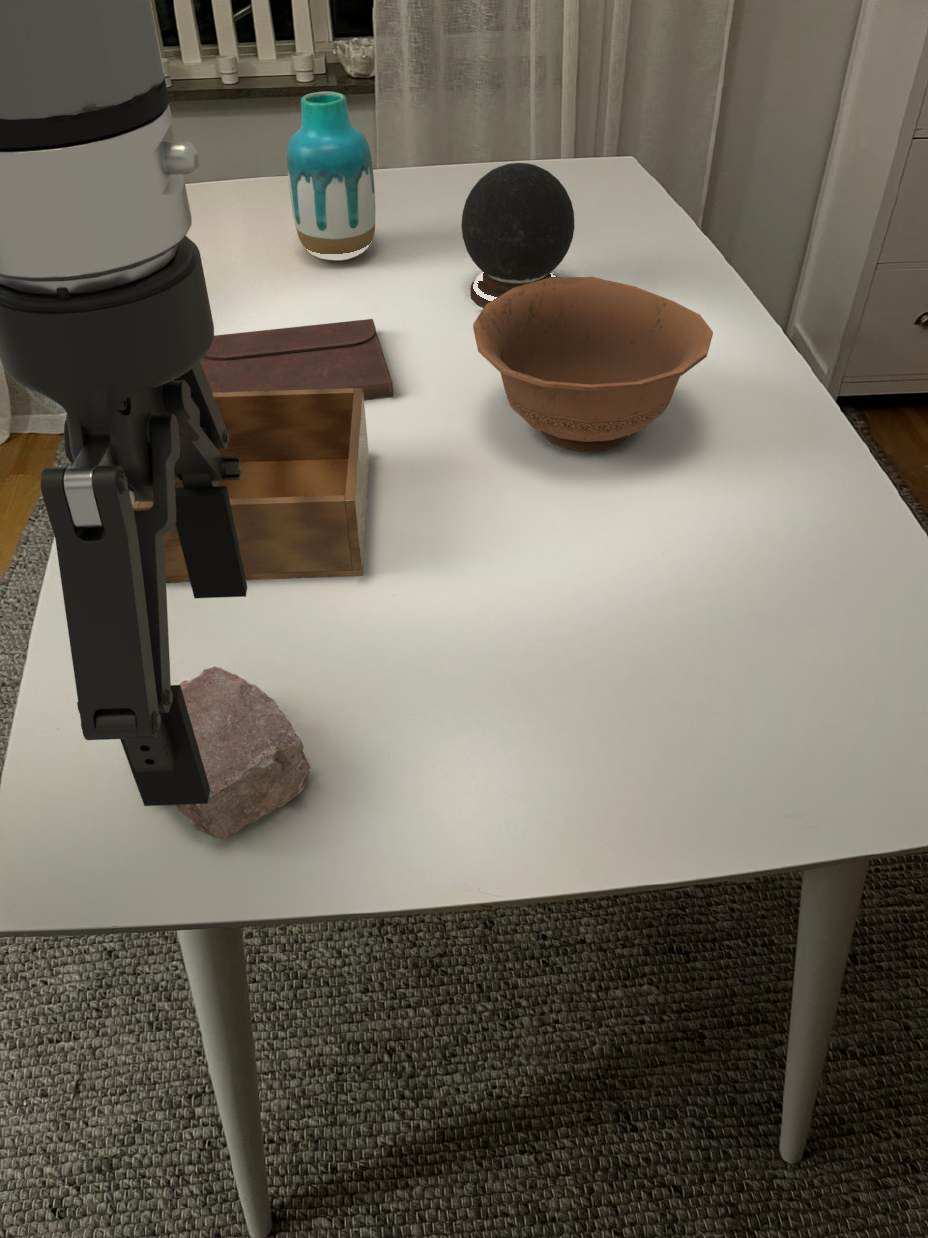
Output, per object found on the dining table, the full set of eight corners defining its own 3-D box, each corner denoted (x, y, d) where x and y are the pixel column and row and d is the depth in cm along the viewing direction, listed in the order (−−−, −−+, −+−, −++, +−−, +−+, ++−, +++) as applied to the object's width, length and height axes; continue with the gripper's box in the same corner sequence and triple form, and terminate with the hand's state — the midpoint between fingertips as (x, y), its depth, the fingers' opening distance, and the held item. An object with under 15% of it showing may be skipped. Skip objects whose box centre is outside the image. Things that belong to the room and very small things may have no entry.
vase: (291, 246, 136) (271, 89, 123) (368, 235, 138) (356, 81, 125) (306, 277, 128) (286, 114, 115) (387, 266, 131) (377, 104, 118)
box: (149, 583, 84) (127, 508, 79) (184, 464, 97) (168, 393, 92) (362, 575, 84) (354, 500, 79) (369, 458, 97) (362, 387, 92)
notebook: (393, 397, 106) (392, 379, 104) (201, 419, 103) (197, 402, 102) (373, 332, 117) (372, 316, 115) (199, 351, 114) (195, 334, 113)
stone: (120, 749, 70) (104, 702, 67) (234, 690, 75) (224, 642, 72) (204, 859, 63) (190, 812, 60) (324, 787, 68) (318, 739, 65)
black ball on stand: (451, 277, 128) (448, 152, 118) (552, 266, 130) (557, 142, 120) (476, 323, 118) (476, 191, 108) (584, 310, 120) (594, 179, 110)
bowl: (640, 360, 111) (651, 262, 104) (737, 467, 95) (758, 360, 88) (447, 392, 106) (444, 292, 99) (515, 510, 91) (518, 401, 83)
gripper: (118, 442, 25) (249, 910, 40) (240, 131, 44) (300, 526, 58) (-186, 452, 25) (56, 918, 39) (66, 136, 44) (168, 530, 58)
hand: (201, 685), depth 49 cm, fingers open, 13 cm apart
